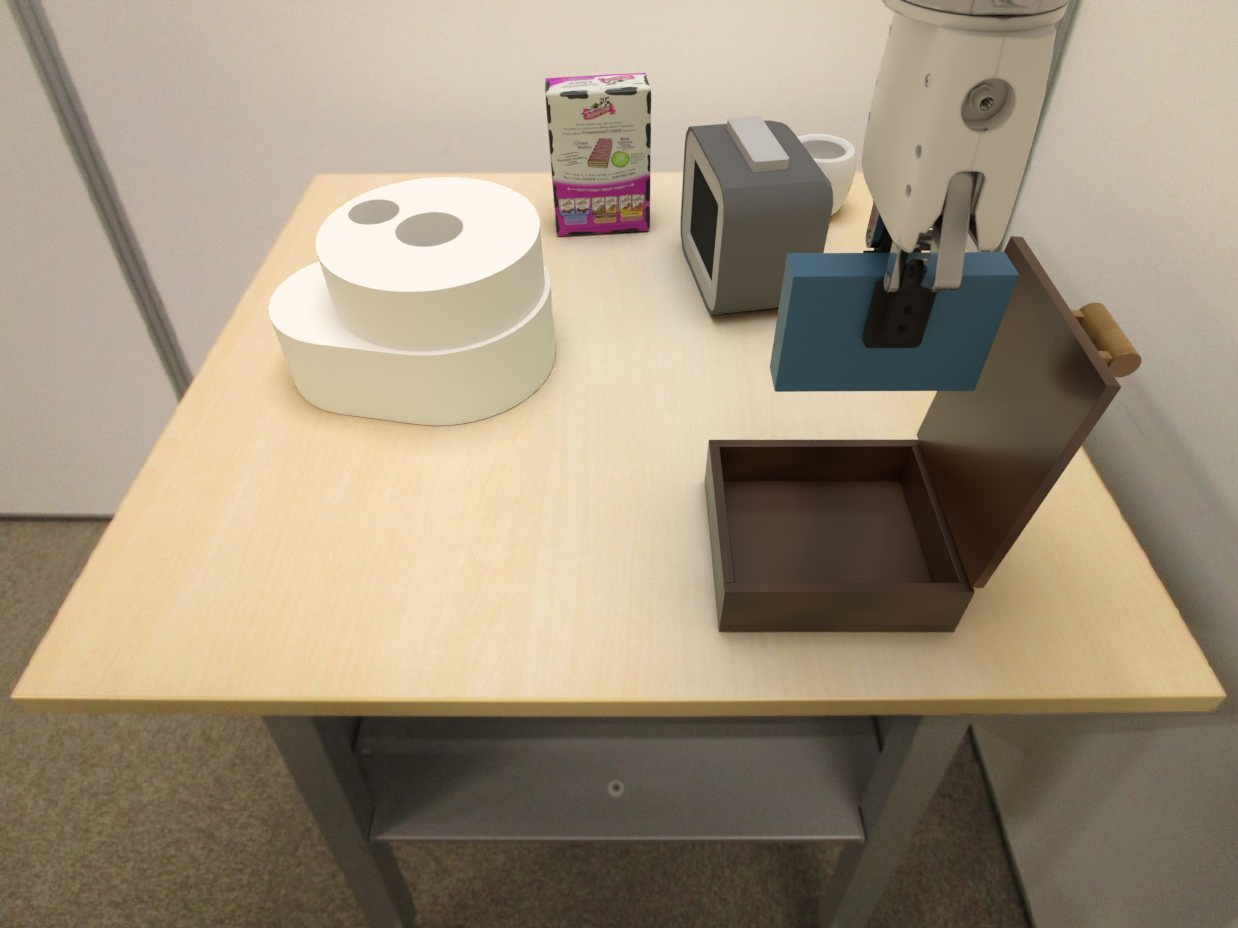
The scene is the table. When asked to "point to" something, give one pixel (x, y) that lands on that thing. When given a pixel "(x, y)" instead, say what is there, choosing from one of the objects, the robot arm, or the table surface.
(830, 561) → the box
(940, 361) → the blue hardcover book
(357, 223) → the container
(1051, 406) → the lid
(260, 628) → the table surface
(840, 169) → the mug
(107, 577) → the table surface
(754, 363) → the table surface
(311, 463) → the table surface
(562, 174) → the candy bar box
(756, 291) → the alarm clock
